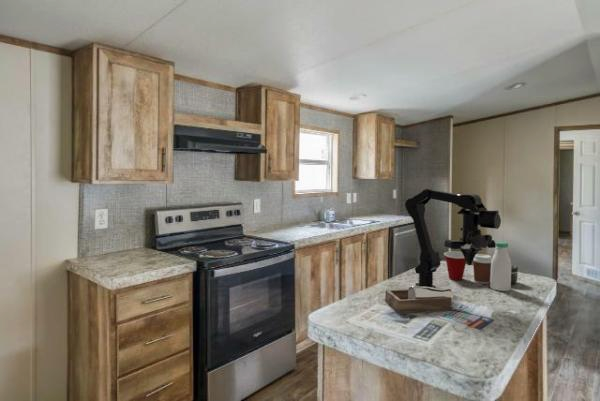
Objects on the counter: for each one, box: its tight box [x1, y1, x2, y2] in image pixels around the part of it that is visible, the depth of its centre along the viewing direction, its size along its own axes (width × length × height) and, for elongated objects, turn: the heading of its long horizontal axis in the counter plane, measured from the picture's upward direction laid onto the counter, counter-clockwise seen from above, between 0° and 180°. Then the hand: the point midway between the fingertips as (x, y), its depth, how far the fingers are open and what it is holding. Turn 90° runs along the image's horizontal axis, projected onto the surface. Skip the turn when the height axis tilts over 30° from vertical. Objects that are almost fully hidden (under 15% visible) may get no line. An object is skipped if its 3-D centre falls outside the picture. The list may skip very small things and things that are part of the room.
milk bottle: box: [489, 241, 512, 292], centre depth 159 cm, size 8×8×20 cm
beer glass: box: [407, 285, 454, 304], centre depth 139 cm, size 7×7×15 cm
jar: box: [511, 264, 519, 286], centre depth 170 cm, size 10×10×8 cm
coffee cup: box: [472, 253, 492, 285], centre depth 170 cm, size 9×9×12 cm
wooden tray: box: [384, 288, 453, 315], centre depth 140 cm, size 14×20×4 cm
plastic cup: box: [443, 250, 467, 281], centre depth 175 cm, size 11×11×12 cm
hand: (469, 265), depth 148 cm, fingers closed
